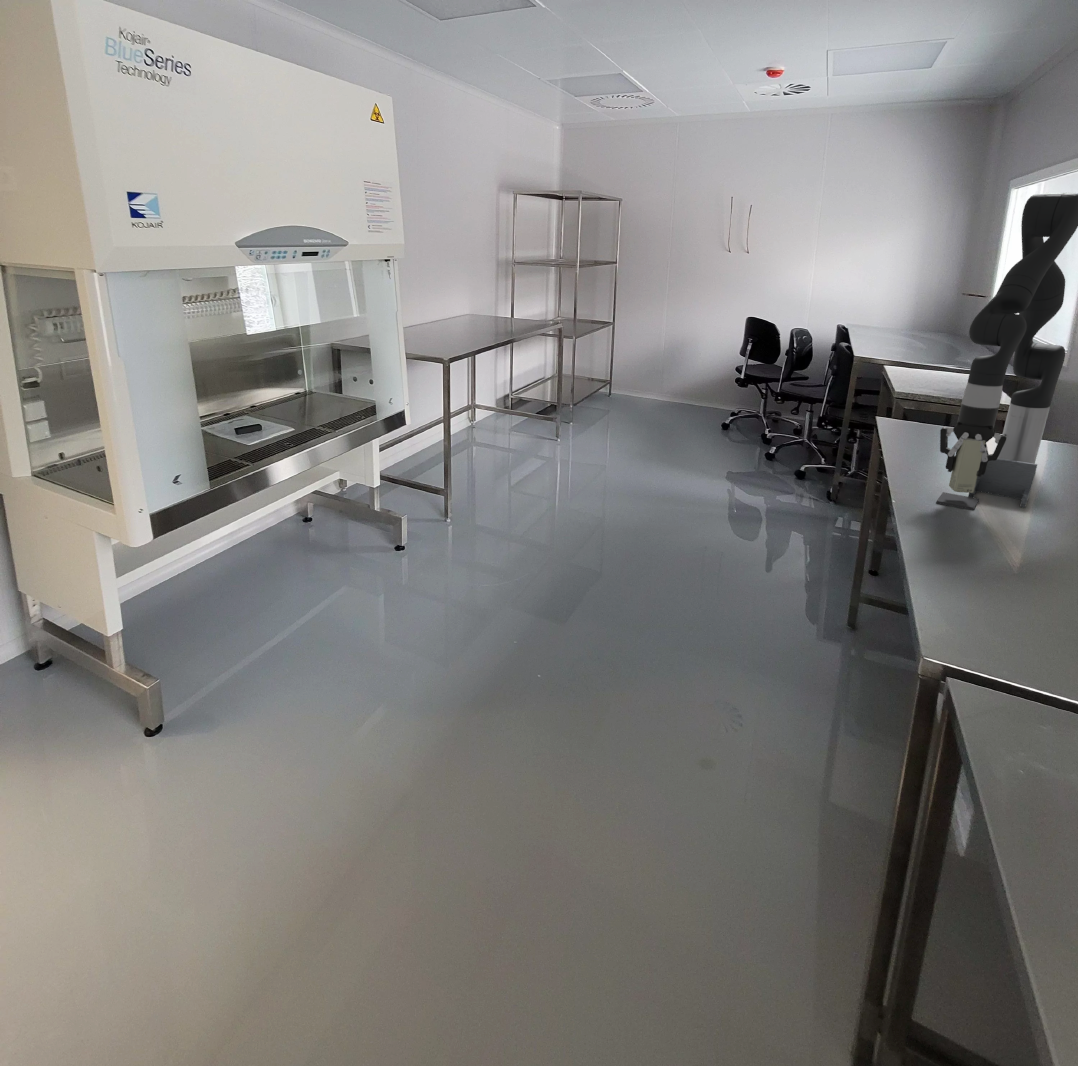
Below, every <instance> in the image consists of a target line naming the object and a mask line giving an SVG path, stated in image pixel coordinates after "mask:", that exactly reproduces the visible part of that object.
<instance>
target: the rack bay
mask: <svg viewBox="0 0 1078 1066" xmlns="http://www.w3.org/2000/svg"><path fill="white" fill-rule="evenodd" d="M981 460H982V458H981ZM1037 468H1038V464H1037V463H1035V464H1034V463H1027V462H1020V461H1013V460H1007V459H1000V458H997V460H995V461H993V460H992V461H988V464H987V468H986V472H985V473H984V475H981V477H978V476H977V480H976V484H975V488H974V492H973V493H968V496H967V497H973V498H975V495H976V494H977V493H983V494H989V495H994V496H1000V497H1004V498H1005V497H1006V498H1011V499H1016V500H1021V502H1020V506H1019V508H1023V509H1024V508H1026V505H1027V503H1028V500H1029V496H1030V494H1031V489H1032V487H1033V486H1032V485H1033V482H1034V479H1035V475H1036V473H1037V472H1036V471H1037Z"/></svg>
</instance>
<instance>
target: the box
mask: <svg viewBox="0 0 1078 1066" xmlns="http://www.w3.org/2000/svg"><path fill="white" fill-rule="evenodd" d="M981 442H982V441H977V440H976V439H972V438H967V439H964V440H963V444H962V445H961V446H960V447H959V449H958V450H957V451H956V452H955V460H954V465H953V469H952V471H951V474H950V479H949V483H948V487H949V488H950V489H951V490H953V492H957V493H968V494H969V493H973V492H974V488H975V484H976V480H977V475H978V471H979V467H980V462H981V458H982V454H983V452H980V447H981ZM983 443H984V445H985V440H983ZM981 448H982V447H981Z"/></svg>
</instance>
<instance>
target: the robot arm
mask: <svg viewBox="0 0 1078 1066" xmlns="http://www.w3.org/2000/svg"><path fill="white" fill-rule="evenodd" d="M1020 227H1021V231H1020V232H1021V252H1022V255H1021V259H1020V260H1019V261H1018V262H1016V263H1015V264H1014V265H1013V266H1012V267H1011V268H1010V269H1009V270H1008V271H1007V273H1006V274H1005V276H1004V278H1003V280H1002V282H1001V284H1000V286H999V288H998V289H997V292H996V294H995V295H994V297H992V298H991V300H990V301H989V302H988V303H987V304H986V305H985V306H984V307H982V309H981V310H980V311H979V312H978V314H977V315H976V316H975V317H974V319H972V322H971V324H970V327H969V330H968V331H969V333H968V334H969V338H970V340H971V342H972V343H974V344H975V345H979V346H980V345H981V346H992V347H999V350H998V351H997V352H996V353H995V354H993V355H991V354H990V355H981V356H980V355H979V356H977V357H975V358H973V360H972V361H971V364H970V365H971V366H970V370H969V375H968V377H967V378H968V379H967V383H966V386H965V388H964V391H963V396H962V397H961V404H960V408H959V414H958V418H957V423H956V424H955V426H954V427H953V426H952V427H951V426H948V427H947V426H946V425H945V426H943V427H942V428H940V430H939V432H940V433H939V435H940V436H939V438H940V439H939V451H940V453H941V454H945V455H946V456H947V458H946V463H945V469H946V470H947V472H948V473H952V469H953V465H954V460H955V455H956V451H957V450H958V449H959V447H960V446H961V445H962V444H963V440H964V439H967V438H972V439H976V440H977V441H982V442H981V447H982V448H981V447H980V452H983V454H982V460H981V462H980V467H979V471H978V475H977V476H978V477H981V475H984V473H985V472H986V468H987V464H988V461H992V460H993V461H995V460H997V458H1000V459H1007V460H1013V461H1020V462H1027V463H1034V464H1036V460H1037V457H1038V454H1039V449H1040V446H1041V442H1042V438H1043V434H1044V432H1045V427H1046V422H1047V420H1048V416H1049V412H1050V408H1051V404H1052V401H1053V397H1054V394H1055V390H1056V387H1057V384H1058V380H1059V377H1060V375H1061V371H1062V369H1063V367H1064V366H1063V365H1064V362H1065V358H1066V349H1065V347H1064V346H1062V345H1057V344H1050V343H1037V342H1034V337H1035V336H1036V335H1037V334H1038V332H1039V331H1040V330H1041V329H1042V328H1043V327H1044V326H1045V325H1046V324H1047V323H1048V322H1049V321H1051V320H1052V319H1053V318H1054V317H1055V316H1056V315H1057V313H1058V312H1059V311H1060V310H1061V308H1062V306H1063V304H1064V298H1065V291H1066V277H1065V275H1064V272H1063V271H1062V269H1061V268H1060V266H1059V265H1058V264H1057V262H1056V259H1057V258H1058V257H1059V255H1060V254H1061V253H1062V252H1063V250H1064V249H1065V247H1066V245H1067V244H1068V243H1069V241H1070V240H1071V239H1072V237H1073V235H1074V234H1075V232H1076V231H1077V229H1078V193H1076V192H1046V193H1045V192H1042V193H1035V194H1033V195H1031V196H1030V197H1029V198H1028V199H1027V201H1026V202H1025V203H1024V207H1023V210H1022V216H1021V225H1020ZM1044 238H1047V239H1046V240H1045V241H1044ZM1013 355H1014V356H1013ZM1012 358H1013V363H1012V370H1013V371H1012V372H1013V374H1014V376H1016V377H1018V378H1021V379H1022V378H1023V379H1028V380H1029V379H1030V380H1036V381H1037V380H1038V381H1041V383H1039V385H1037V386H1036V387H1033V388H1028V389H1022V390H1018V391H1015V392H1013V393H1012V395H1011V397H1010V403H1009V407H1008V410H1007V415H1006V418H1005V422H1004V427H1003V430H1002V433H998V432H996V430H995V425H996V421H997V416H998V413H999V408H1000V404H1001V400H1002V395H1003V386H1004V382H1005V378H1006V375H1007V369H1008V366H1009V365H1010V362H1011V359H1012ZM952 433H953V434H954V435H955V438H956V439H957V441H956V442H955V444H954V445H953V446H952V447H951V448H949V447H948V444H949V443H948V441H949V437H950V436H951V434H952ZM992 438H994V443H995V444H996V447H995V449H994V451H993V453H992V454H990V453H989V451H988V445H987V443H988V442H989V441H991V439H992ZM983 440H985V445H984V443H983Z"/></svg>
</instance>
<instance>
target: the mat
mask: <svg viewBox="0 0 1078 1066" xmlns="http://www.w3.org/2000/svg"><path fill="white" fill-rule="evenodd" d="M979 501H980V498H979V497H968V496H967V495H961V494H957V493H956V494H955V493H949V492H944V491H943V492H942V493H941V494H940V495H939V497H938V499H937V500H936V501H935V503H936V504H937V505H938V504H939V505H943V506H950V507H954V508H960V509H965V510H972V511H974V510H975V509H976V507H977V505H978V503H979Z"/></svg>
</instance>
